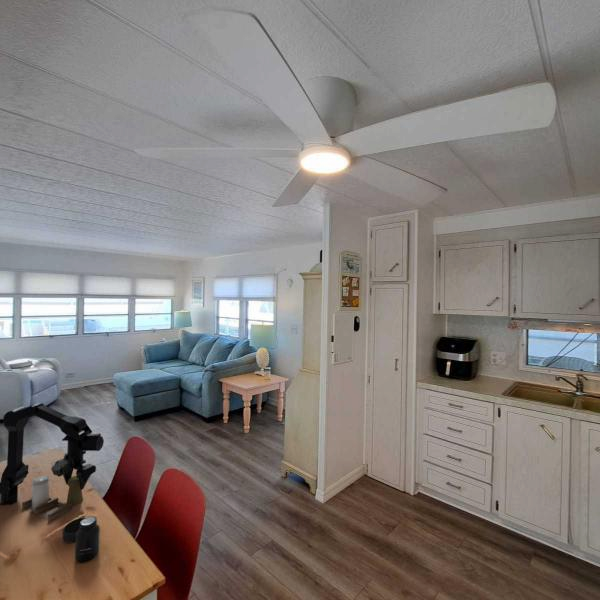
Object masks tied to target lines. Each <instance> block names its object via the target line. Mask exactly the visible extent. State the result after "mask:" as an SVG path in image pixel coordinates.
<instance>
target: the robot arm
mask: <svg viewBox="0 0 600 600" xmlns="http://www.w3.org/2000/svg"><path fill="white" fill-rule="evenodd" d="M30 416H35V417H38V418H39V419H41V420H43V421H45V422H48V423H50V424H52V425H54V426H56V427H58V428H59V429H60V431H61V432H62V433H63V434H64V435H65V436H64V437H63V438H61V439H62V440H61V441H63V442H67V452H66V453H64V456H63V458H61V459H58V460H56V462H54V465H53V466H51V467H50V469H51V472H52V475H54V476H57V477H58V478H60V477H63V479H64V482H65V485H68V480H69V479H70V478H71V477H73V471H74V470H75V476H76V477H77V478H78V479H79V484H80V490H82V491H83V490H84V488H85V487H86V484H87V482H88V481H89V479H90V478H91V475H92V474H93V475H94V473H96V471H97V466H96V465H94V464H93V463H92V464H91V463H87V461H86V459H84V454H87V452H99V451H101V450H102V448H103V446H104V440H105V439H104V438H103V436H102V434H101V433H93V430H92V429H91V428H90V426H89V425H88V424H87V420H86V419H84V418H82V417H79V416H71V415H66V414H64V413H62V412H59V411H58V410H55V409H54V408H51V407H49V406H48V405H45V404H44V403H43V402H37V403H34V404H32V405H29V406H27V407H26V406H18V407H17V408H14V409H12V410H10V411H7V412H6V413H5V414H4V415H3V425H4V428H5V429H6V430H7V432H8V437H7V457H6V466H5V468H4V469H3V472H2V473H1V477H0V505H1V506H9V505H10V506H11V505H13V504H15V503H17V502H18V498H19V496H18V495H19V491H18V489H19V485H21V484H22V483H24V480H25V479H26V478H27V476H28V474H29V464H25V463H24V461H23V457H24V456H23V455H24V454H23V453H24V437H25V436H24V435H25V433H24V431H25V428H26V426H27V424H28V422H29V419H30ZM86 463H87V464H86ZM84 464H85V465H84Z"/></svg>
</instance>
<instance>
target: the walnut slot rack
mask: <svg viewBox="0 0 600 600" xmlns="http://www.w3.org/2000/svg"><path fill="white" fill-rule="evenodd" d="M21 503H22V504H21V508H22V509H23V510H25V511H27V512H28V513H31V514H34V515H35V516H38V517H40V518H42V519H44V520H46V521H48V522H52V521H54V520H56V519H57V518H59V517H60V516H62V515H65V514H66V513H67V512H69V511H71V510H72V506H73V505H72V503H68V504H67V502H64V501H62V500H59V497H57V496H56V497H53V496H50V495H49V501H48V502H46V503H44V504H42V505H40V506H38V507H36V508H35V510H32V497H31V498H28V499H26V500H24V501H22V502H21Z"/></svg>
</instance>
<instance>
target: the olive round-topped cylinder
mask: <svg viewBox="0 0 600 600" xmlns="http://www.w3.org/2000/svg"><path fill="white" fill-rule="evenodd" d="M76 476H77V475H74V476H73V475H72V477H71V478H70V479H69V480H68V487H69V488H68V492H67V497H66V498H67V499H66V503H67V504H68V503H72V506H76V505H78V504H80V503H82V501H83V500H84V498H83V497H84V496H83V489H82V490H80V484H79V479H78V478H77V477H76Z"/></svg>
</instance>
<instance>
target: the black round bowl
mask: <svg viewBox="0 0 600 600" xmlns="http://www.w3.org/2000/svg"><path fill="white" fill-rule="evenodd" d="M84 518H85V517H79V518H76V519H74V520H72V521H70V522H68V523H67V524H66V525H64V527H63V530H62V540H63V541H64V542H66V543H76V533H77V531H78V530H79V529H80V522H81V521H82V520H83V519H84Z"/></svg>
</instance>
